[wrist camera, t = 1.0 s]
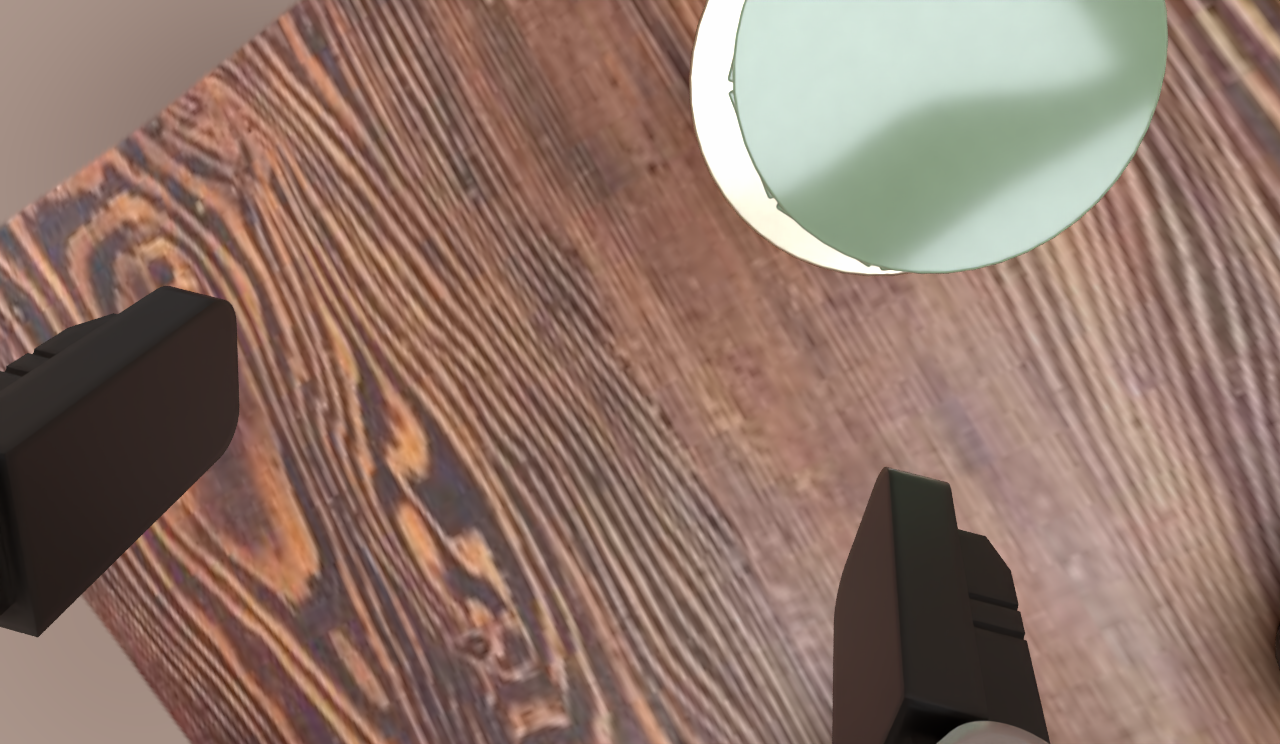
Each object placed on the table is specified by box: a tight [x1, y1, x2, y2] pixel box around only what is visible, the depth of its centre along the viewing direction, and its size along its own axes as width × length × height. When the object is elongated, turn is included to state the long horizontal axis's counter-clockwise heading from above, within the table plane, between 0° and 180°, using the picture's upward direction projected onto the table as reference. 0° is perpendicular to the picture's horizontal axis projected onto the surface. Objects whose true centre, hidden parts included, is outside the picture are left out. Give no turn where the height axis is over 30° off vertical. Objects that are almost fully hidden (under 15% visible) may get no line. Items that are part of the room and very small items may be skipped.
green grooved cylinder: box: [728, 0, 1168, 274], centre depth 19 cm, size 6×7×9 cm
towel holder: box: [689, 0, 910, 276], centre depth 22 cm, size 11×11×14 cm
